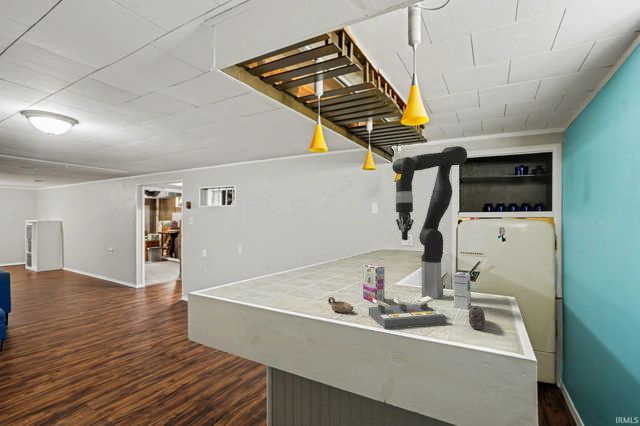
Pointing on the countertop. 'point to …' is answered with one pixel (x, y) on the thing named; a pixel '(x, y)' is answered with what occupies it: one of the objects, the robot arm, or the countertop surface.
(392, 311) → the switch console
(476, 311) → the perforated stone tool
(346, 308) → the oil lamp
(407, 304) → the middle rocker
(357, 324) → the countertop surface
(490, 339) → the countertop surface
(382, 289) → the candy bar box
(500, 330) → the countertop surface
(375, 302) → the rocker
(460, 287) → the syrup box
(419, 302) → the rocker
